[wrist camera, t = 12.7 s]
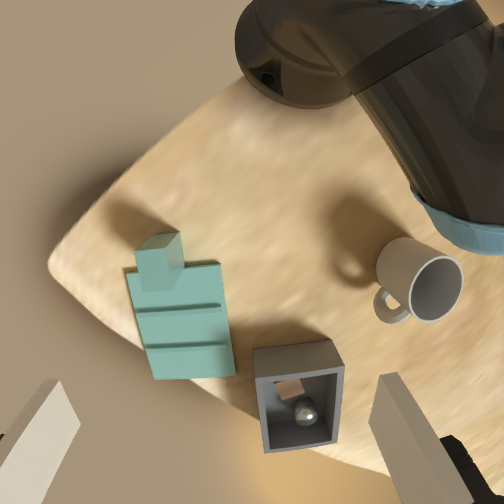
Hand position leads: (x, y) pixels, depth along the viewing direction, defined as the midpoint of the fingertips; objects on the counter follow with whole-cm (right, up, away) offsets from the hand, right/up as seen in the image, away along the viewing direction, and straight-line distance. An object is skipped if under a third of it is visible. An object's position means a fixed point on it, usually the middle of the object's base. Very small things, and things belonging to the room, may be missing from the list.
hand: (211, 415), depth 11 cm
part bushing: (+9, -15, +29) cm, 34 cm away
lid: (-7, -1, +25) cm, 26 cm away
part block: (+6, -9, +27) cm, 30 cm away
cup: (+19, +4, +25) cm, 32 cm away
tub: (+7, -12, +29) cm, 32 cm away
